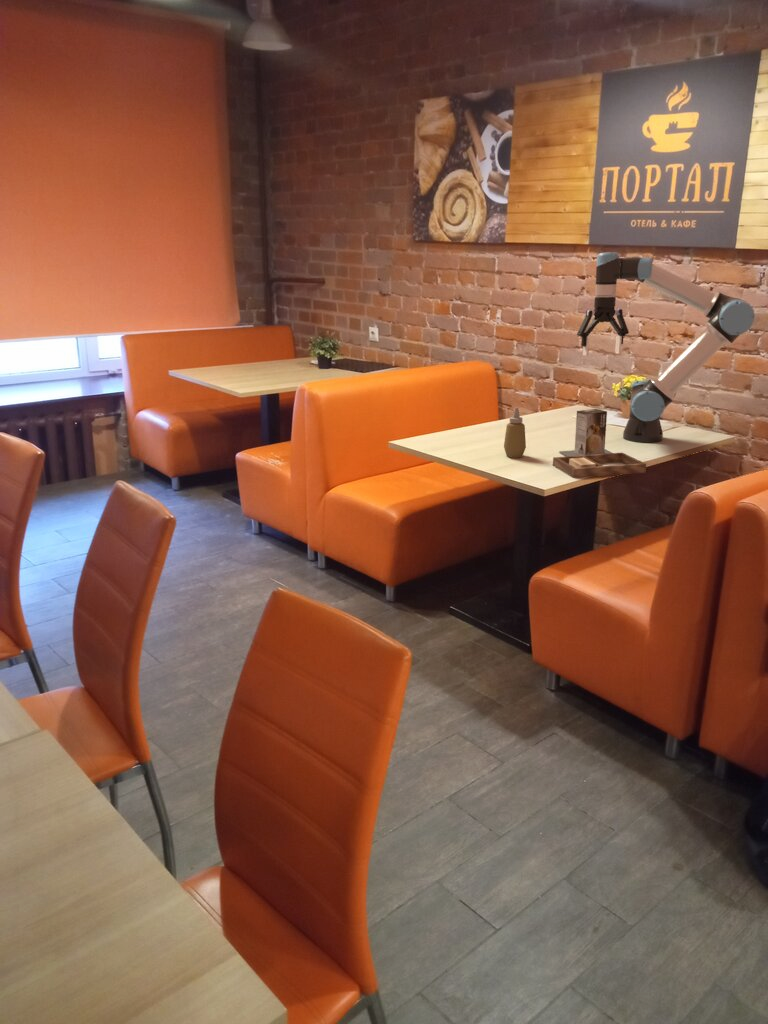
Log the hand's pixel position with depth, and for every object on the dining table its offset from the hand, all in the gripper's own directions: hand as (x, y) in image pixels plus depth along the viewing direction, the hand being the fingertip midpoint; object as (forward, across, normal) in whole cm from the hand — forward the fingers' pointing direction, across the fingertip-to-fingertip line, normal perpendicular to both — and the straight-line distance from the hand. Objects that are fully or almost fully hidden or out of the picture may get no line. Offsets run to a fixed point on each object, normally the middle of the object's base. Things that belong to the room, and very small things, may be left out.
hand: (601, 354), depth 309 cm
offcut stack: (+35, +24, +34) cm, 54 cm away
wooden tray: (+34, +18, +34) cm, 52 cm away
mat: (+34, +12, +16) cm, 40 cm away
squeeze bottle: (+34, +39, +9) cm, 52 cm away
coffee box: (+34, +12, +16) cm, 40 cm away
